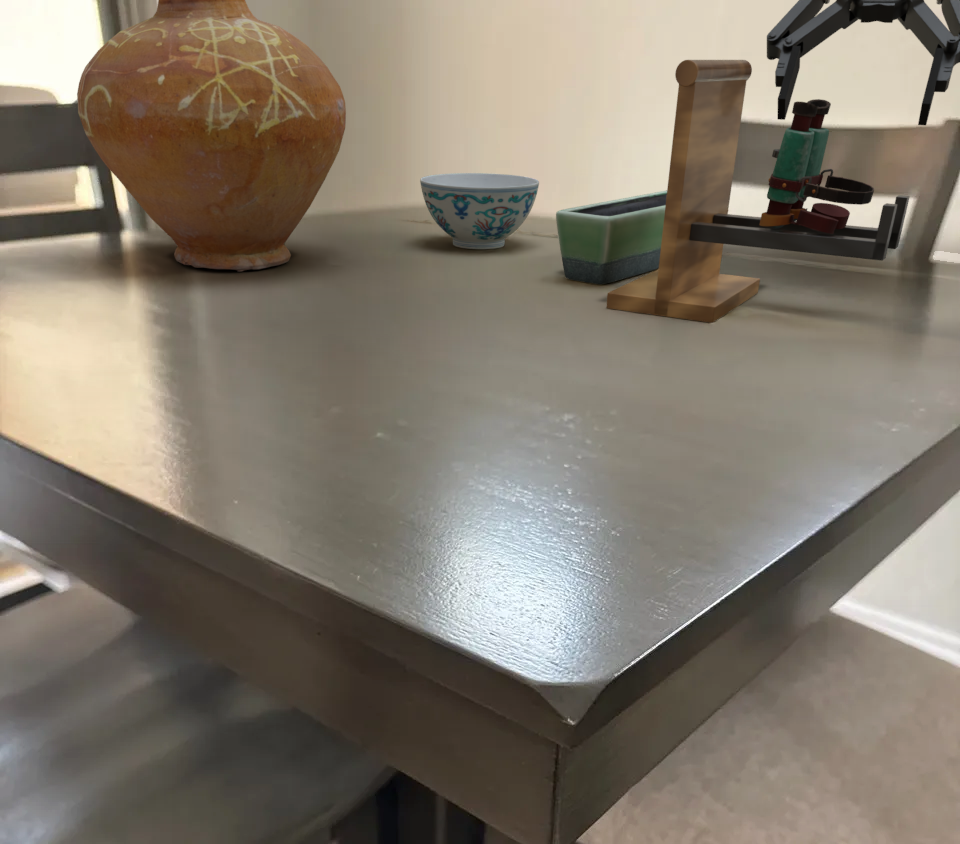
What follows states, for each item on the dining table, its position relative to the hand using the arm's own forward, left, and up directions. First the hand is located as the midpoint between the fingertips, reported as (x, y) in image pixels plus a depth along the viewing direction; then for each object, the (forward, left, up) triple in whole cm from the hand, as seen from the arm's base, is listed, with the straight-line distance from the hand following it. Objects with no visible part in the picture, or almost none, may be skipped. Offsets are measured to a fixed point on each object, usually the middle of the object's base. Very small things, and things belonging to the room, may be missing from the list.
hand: (850, 112), depth 97 cm
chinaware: (+44, -4, -17) cm, 48 cm away
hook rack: (+4, +12, -17) cm, 21 cm away
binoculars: (-1, +12, -9) cm, 15 cm away
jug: (+62, +23, -17) cm, 69 cm away
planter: (+21, -2, -17) cm, 28 cm away
